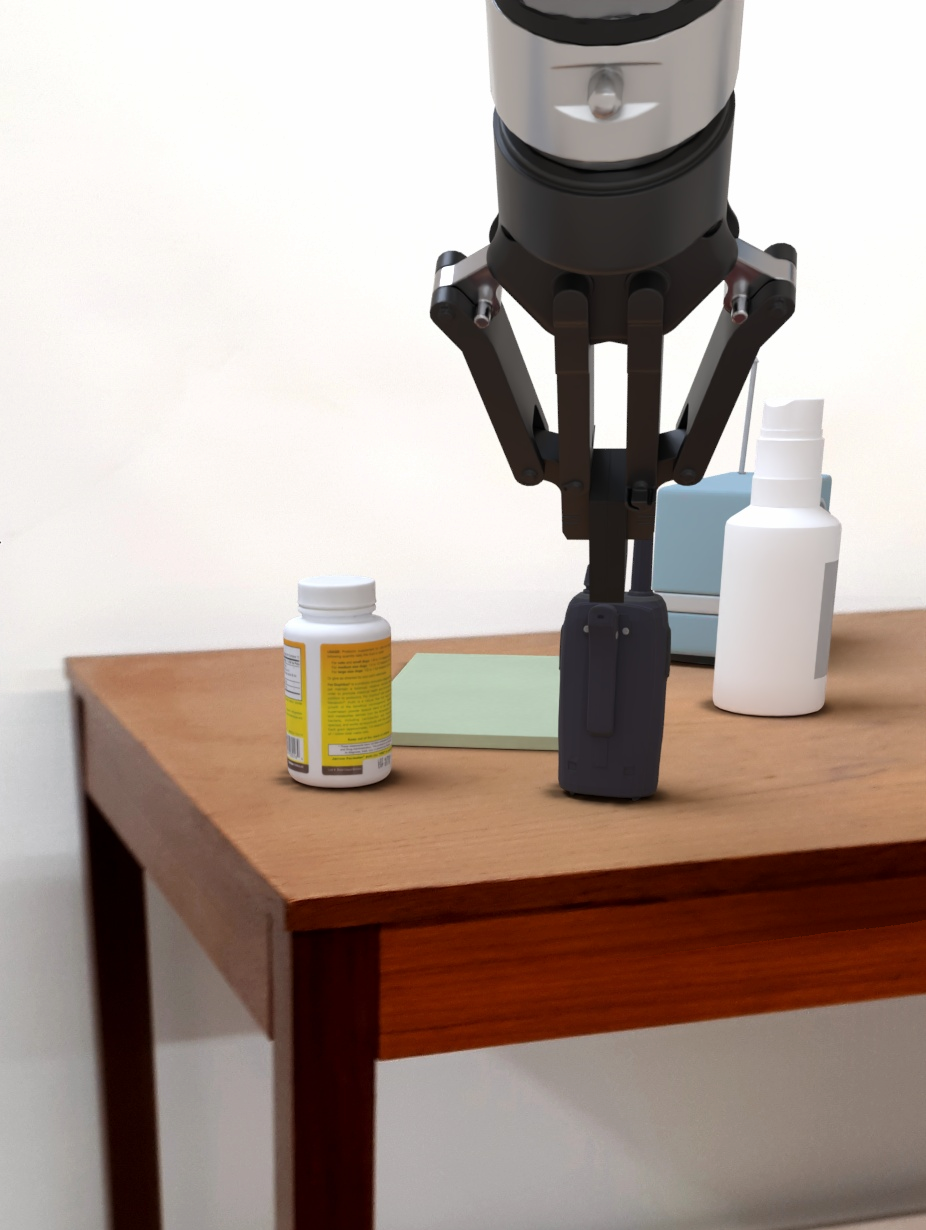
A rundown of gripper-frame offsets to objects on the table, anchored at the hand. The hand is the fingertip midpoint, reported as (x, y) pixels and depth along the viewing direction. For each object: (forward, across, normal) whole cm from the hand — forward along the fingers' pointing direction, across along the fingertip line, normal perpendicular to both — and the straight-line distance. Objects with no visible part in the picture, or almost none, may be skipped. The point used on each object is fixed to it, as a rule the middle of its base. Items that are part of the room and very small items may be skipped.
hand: (608, 577), depth 73 cm
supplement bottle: (+15, -14, -2) cm, 20 cm away
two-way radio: (+14, 0, -3) cm, 14 cm away
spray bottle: (+30, +9, +14) cm, 35 cm away
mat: (+30, -7, +13) cm, 33 cm away
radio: (+45, +8, +28) cm, 53 cm away
